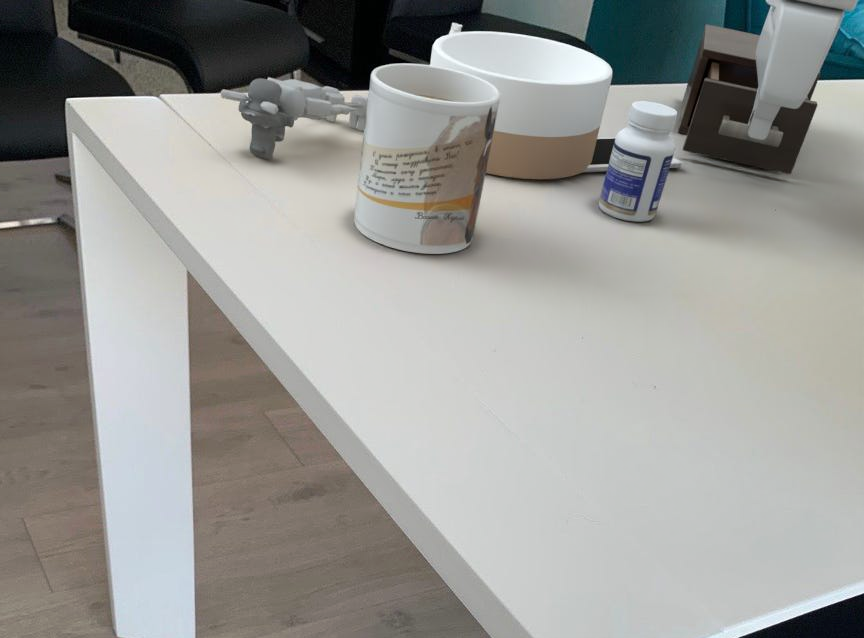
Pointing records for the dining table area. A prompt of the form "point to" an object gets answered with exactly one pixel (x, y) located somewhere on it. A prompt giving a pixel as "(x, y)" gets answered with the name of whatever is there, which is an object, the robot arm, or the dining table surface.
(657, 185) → the pill bottle
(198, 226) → the dining table surface
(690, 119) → the cabinet
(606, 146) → the cell phone
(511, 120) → the bowl
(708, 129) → the drawer
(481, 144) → the mug
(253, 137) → the figurine
